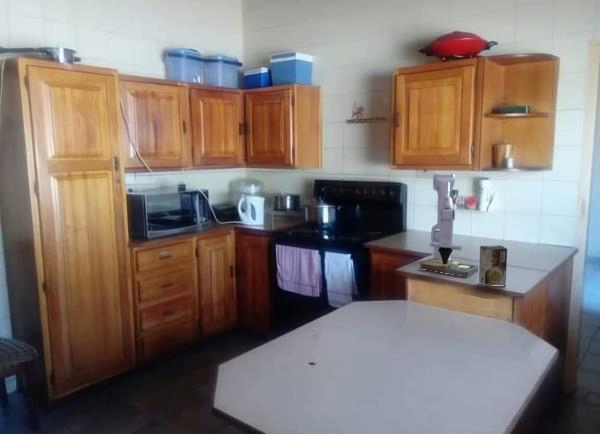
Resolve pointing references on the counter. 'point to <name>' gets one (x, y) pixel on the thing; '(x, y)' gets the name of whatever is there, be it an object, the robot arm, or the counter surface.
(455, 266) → the sage tile
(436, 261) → the flat brown block
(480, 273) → the coffee box
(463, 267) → the cream tile
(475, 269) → the box
